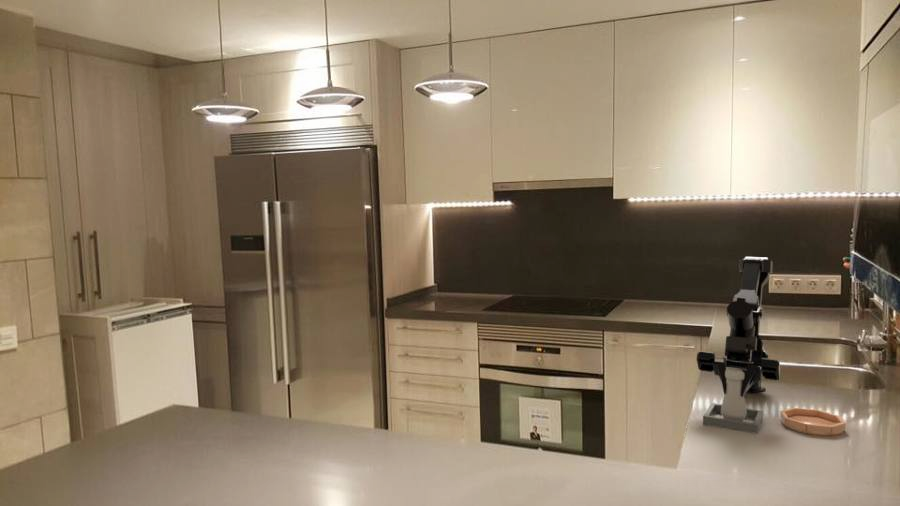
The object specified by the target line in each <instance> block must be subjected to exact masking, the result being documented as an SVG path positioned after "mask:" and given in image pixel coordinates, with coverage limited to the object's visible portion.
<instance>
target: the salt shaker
mask: <svg viewBox="0 0 900 506" xmlns="http://www.w3.org/2000/svg"><path fill="white" fill-rule="evenodd" d="M744 376H745V375H744V372H743V371H742V370H740V369H736V368H726V372H725V377H726V378H727V386H726V394H724V393H723V394H724V396H723V398H722V403H721V404H722V407H721V413H720V414H721V415H722V418H726V419H732V420H738V421H744V420H745V419H746V418H747V417H746V415H747V411H746V408H747V405H746V400H745V395H744V396H743V397H741V391H742V380H743V379H744ZM744 422H745V421H744Z"/></svg>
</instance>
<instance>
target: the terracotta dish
mask: <svg viewBox="0 0 900 506" xmlns="http://www.w3.org/2000/svg"><path fill="white" fill-rule="evenodd" d="M779 416H780V418H781V420H780V421H781V424H782V425H783V426H784V427H786V428H788V429H791V430H793V431H796V432H799V433H802V434H803V433H804V434H808V435H814V436H826V437H827V436H830V437H831V436H838V435H841V434H843V433H844V430H846V425H847V423H846V421H844V419H842V417H841V416H840V415H837V414H834V413H830V412H827V411H824V410H821V409H815V408H802V407H791V408H788V409H787V408H786V409H782V410H780V415H779Z"/></svg>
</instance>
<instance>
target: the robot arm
mask: <svg viewBox="0 0 900 506" xmlns="http://www.w3.org/2000/svg"><path fill="white" fill-rule="evenodd" d="M738 267H739V268H738V269H739V270H738V271H739V272H741V276H742V277H741V282H740V287H739V292H737V293H736V294H734V295H733V296H732V297H733V298H732V302H730V303H728V305H727V307H726V316H727V321H728V325H729V328H730V329H729V331H730V332H729V335H727V336H725V347H724V356H725V357H723V356H717V355H715V354H716V353H715V352H714V351H705V350H699V351H698V352H697V353H696V354H697V355H696V363H697V367H698V370H700V371H701V372H709V373H713V372H714V375H715V376H718V377H719V379H720V382H721V385H722V390H723V394H726V386H727V382H728V379H727V378H726V377H725V372H726V370H727V369H730V368H735V369H740V370H742V371H743V372H744V375H745V376H744V379H743V380H742V391H741V397H743V396H744V397H745V396H746V394H747V393H749V394H750V393H751V394H754V393H758V392H763V391H766V388H765V387H762V377H763V378H764V379H765V380H770V381H779V380H780V377H781V366H780V365H781V364H780V361H779V360H778V359H777V358H769V355H768V353H767V350H765V346H764V343H763V341H762V339H761V337H760V326H761V325H760V323H761V319H762V318H763V316H764V313H765V311H764V309H763V306H762V302H763V301H762V298H763V288H764V286H766V284H767V283H768V282H769V281H770V274H773V261H772V260H769V258H768V257H763V256H762V257H761V256H745V257H744V258H740V259H739V266H738Z"/></svg>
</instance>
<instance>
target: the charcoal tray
mask: <svg viewBox="0 0 900 506" xmlns="http://www.w3.org/2000/svg"><path fill="white" fill-rule="evenodd" d="M721 407H722V403H716V402H711V403H710V405H709V406H708V408H707V409H706V410H705V413H704V414H703V416H702V425H707V426H712V427H717V428H718V427H719V428H724V429H729V430H736V431H741V432H747V433H751V434H752V433H753V434H758V433H759V430H760V428H761V425H762V422H763V419H764V410H760V409H755V408H749V407H748V408H747V407H746V411H747V415H746V417H745V418H749V419H750V418H751V419H754V421H753V422H749V421H738V420H732V419H726V418H723V417H721V416H720V417H719V416H714V414H715V413H720V414H722V413H721Z"/></svg>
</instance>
